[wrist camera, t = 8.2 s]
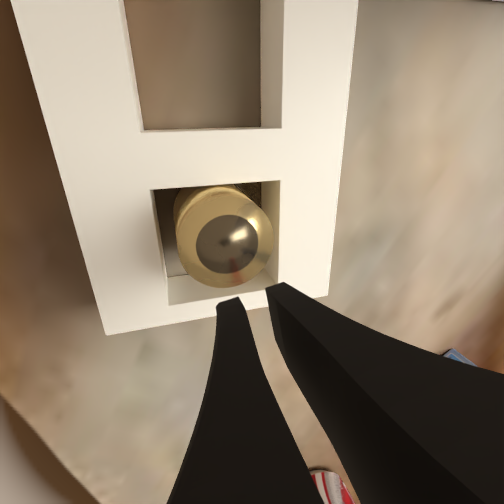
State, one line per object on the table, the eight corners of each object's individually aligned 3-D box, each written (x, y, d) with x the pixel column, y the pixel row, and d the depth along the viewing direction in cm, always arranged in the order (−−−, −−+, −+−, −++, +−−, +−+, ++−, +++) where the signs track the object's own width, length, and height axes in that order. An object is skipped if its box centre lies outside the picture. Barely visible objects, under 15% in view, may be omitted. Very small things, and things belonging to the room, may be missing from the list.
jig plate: (326, -43, 13) (367, -83, 11) (305, 271, 20) (327, 295, 17) (17, -80, 10) (-32, -148, 8) (114, 302, 17) (105, 335, 14)
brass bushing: (228, 163, 16) (254, 179, 11) (254, 226, 18) (285, 262, 13) (159, 194, 15) (158, 224, 11) (193, 256, 17) (204, 303, 13)
